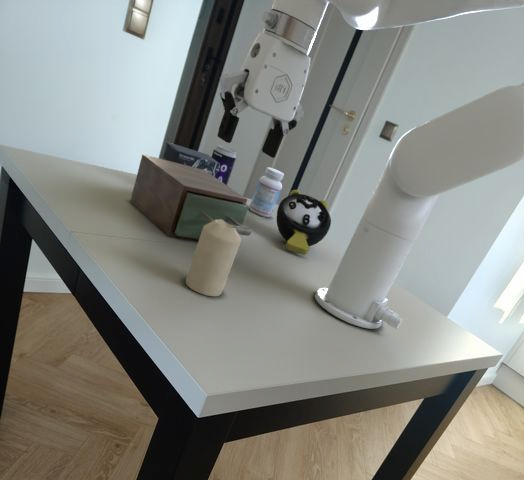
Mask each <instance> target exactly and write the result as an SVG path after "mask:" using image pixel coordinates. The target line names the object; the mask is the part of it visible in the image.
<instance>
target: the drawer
mask: <svg viewBox="0 0 524 480" xmlns="http://www.w3.org/2000/svg"><path fill="white" fill-rule="evenodd" d="M249 207H250V206H248V205H247V204H246V205H244V204H239V203H238V202H236V201H232V200H228V199H223V198H218V197H213V196H209V195H204V194H199V193H195V192H190V191H186V195H185V198H184V201H183V204H182V208H181V211H180V214H179V217H178V221H177V224H176V227H175V229H176V230H175V234H177V235H178V236H183V237H190V238H197V239H199V238H200V235H201V232H202V229H203V227H204V225H206V224H208V223H210V222H212V221H214V220H219V219H222V220H224V221H225V222H226V223H228V224H229V225H231V226H232V228H235V229H236V231H237V233H238V234H239V236H246V237H249V236H250V235H251V234H252V228H251V227H247V226H243V224H244V221H245V219H246V215H247V213H248V211H249V209H250V208H249Z"/></svg>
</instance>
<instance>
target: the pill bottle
mask: <svg viewBox="0 0 524 480" xmlns="http://www.w3.org/2000/svg"><path fill="white" fill-rule="evenodd" d="M264 173H265V174H264V175H262V176H260V177H259V180H258V182H257V185H256V188H255V191H254V193H253V196H252V199H251V202H250V203H249V206H248V207H249V208H248V209H249V211H251V212H252V213H254V214H256V215H258V216H261V217H264V218H271V217H272V215H273V213H274V210H275V207H276V205H277V203H278V199H279V197H280V195H281V191H282V189H283V183H282V182H281V181H282V180H283V179H284V176H285V173H284V172H282V171H280V170H278V169H275V168H273V167H270V166H267V167H266V169H265V172H264Z"/></svg>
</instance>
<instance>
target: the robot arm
mask: <svg viewBox="0 0 524 480" xmlns="http://www.w3.org/2000/svg"><path fill="white" fill-rule="evenodd" d="M329 4H332V5H333V6H335V7H336V8H337V10H339V12H340V14H341V16H342V17H343V20H344V21H345V22H346V23H347V24H348V25H349V26H350V27H352V28H354V29H357V30H362V31H370V30H381V29H391V28H400V27H409V26H414V25H418V24H424V23H428V22H433V21H438V20H443V19H444V20H445V19H449V18H453V17H456V16H461V15H465V14H473V13H479V12H480V13H482V12H490V11H496V10H497V11H499V10H506V9H507V10H508V9H516V8H524V0H273V2H272V5H271V7H270V11H264V13H262V17H261V20H262V22H263V23H264V27H263V30H262V31H259V32H258V34H257V36H256V38H255V39H254V41H253V43H252V45H251V47H250V49H249V51H248V53H247V55H246V57H245V58H244V61H243V64H242V66H241V69H240V71H236V72H230V73H226V74H222V75H221V76H220V77H219V81H220V82H219V83H220V94H219V96H220V99H221V102H222V110H223V111H224V112H223V115H222V118H221V121H220V124H219V127H218V132H217V138H219V139H221V140H222V141H223V142H225V143H228V144H230V143H231V142H233V138H234V135H235V133H236V130H237V127H238V124H239V121H240V117H239V116H238V115H239V114H240V113H241V112H243V111H244V110H246V109H247V108H248V107H249V108H251V109H252V110H254V111H256V112H259V113H260V114H264V115H266V116H268V117H271V119H272V124H273V125H272V126H273V128H270V129H269V130H268V133H267V135H266V138H265V140H264V143H263V145H262V147H261V148H262V149H261V152H262V153H263V154H265V155H267V156H268V157H270V158H273V159H275V158H276V156H277V154H278V151H279V148H280V146H281V144H282V141H283V139H284V136H288V135H289V133H290V131H291V130H293V129H295V128H296V127H297V125H298V123H299V122H300V121H301V120H302V119H303V118H304V117H305V114H306V113H305V110H304V108H303V106H302V104H301V103H300V101H301V98H302V95H303V92H304V89H305V86H306V82H307V79H308V75H309V71H310V66H311V60H312V58H311V57H310V56H309V54H310V51H311V49H312V46H313V43H314V41H315V38H316V36H317V33H318V30H319V28H320V26H321V24H322V21H323V18H324V15H325V13H326V10H327V8H328V5H329ZM233 87H234V90H233ZM232 91H233V94H232ZM522 160H524V82H522V83H520V84H518V85H508V86H504V87H500V88H499V89H495V90H494V91H491V92H489V93H487V94H484V95H483V96H481V97H479V98H476V99H474V100H472V101H470V102H467V103H466V104H463V105H461V106H459V107H457V108H454V109H452V110H451V111H447V112H445V113H444V114H442V115H439V116H437V117H435V118H433V119H431V120H429V121H425V122H424V123H422V124H420V125H417V126H415V127H413V128H411V129H410V130H408V131H407V132H405V133H404V134H403V135H402V136H401V137H400V138H399V139H398V140H397V141H396V144H395V145H394V147H393V148H392V151H391V153H390V155H389V158H388V160H387V162H386V165H385V166H384V170H383V172H382V174H381V176H380V178H379V180H378V183H377V184H376V187H375V189H374V190H373V193H372V195H371V197H370V199H369V201H368V204H367V205H366V208H365V210H364V212H363V214H362V216H361V218H360V220H359V222H358V224H357V226H356V228H355V231H354V233H353V235H352V237H351V239H350V241H349V243H348V245H347V247H346V249H345V252H344V254H343V256H342V258H341V260H340V262H339V264H338V267H337V269H336V271H335V273H334V275H333V277H332V279H331V281H330V284H329V285H328V287H321V288H318V289H317V290H316V292H315V295H314V297H315V300H316V302H317V303H318V304H319V306H320V307H321V308H323V309H324V310H325V311H327V312H328V313H329V314H331V315H332V316H334V317H336V318H338V319H339V320H341V321H343V322H346V323H348V324H351V325H353V326H357V327H359V328H364V329H369V330H375V329H379V328H381V326H382V324H383V322H384V323H386V324H387V325H388V326H389V327H392V328H394V329H395V330H397V329H399V327H400V326H401V324H402V322H403V318H401V317H399V316H400V314H399V313H397V312H395V311H392V310H391V309H389V307H388V306H387V304H388V302H389V299H388V298H387V295H388V294H389V292H390V290H391V288H392V286H393V284H394V282H395V281H396V279H397V276H398V275H399V273H400V271H401V269H402V267H403V265H404V263H405V262H406V259H407V258H408V256H409V254H410V252H411V250H412V248H413V246H414V245H415V243H416V242H417V240H418V238H419V236H420V235H421V232H422V230H423V228H424V226H425V225H426V222H427V220H428V219H429V217H430V214H431V212H432V211H433V209H434V207H435V205H436V202H437V200H438V198H439V196H440V195H441V194H444V193H446V192H449V191H451V190H453V189H456V188H458V187H461V186H464V185H466V184H469V183H471V182H474V181H476V180H478V179H481V178H484V177H486V176H489V175H491V174H493V173H496V172H498V171H500V170H503V169H506V168H508V167H511V166H513V165H514V164H515V165H516V164H517V163H518V162H521V161H522Z"/></svg>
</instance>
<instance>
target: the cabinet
mask: <svg viewBox="0 0 524 480" xmlns="http://www.w3.org/2000/svg"><path fill="white" fill-rule="evenodd" d="M186 191H190V192H195V193H199V194H204V195H209V196H213V197H218V198H223V199H228V200H232V201H236V202H238V203H239V204H244V205H246V206H247V201H248V198H247V197H245V196H243V195H242V194H240V193H239V192H237V191H236V190H234V189H232V188H231V187H230V186H228V184H227V185H225V184H224V183H223V182H221V181H220V180H218V179H217V178H215V177H214V176H212V175H211V174H209V173H208V172H206V171H205V170H202V169H198V168H194V167H191V166H187V165H183V164H179V163H175V162H171V161H167V160H163V159H162V158H158V157H155V156H151V155H148V154H144V153H143V154H141V159H140V163H139V166H138V169H137V174H136V177H135V181H134V185H133V189H132V193H131V195H130V197H131V198H130V203H131V204H133V206H134V207H136V208H137V209H138V210H139V211H141V212H142V213H143V214H144V215H145V216H146V217H147V218H148V219H149V220H150V221H152V223H154V224H155V225H156V226H157V227H158V228H159V229H161V231H163V232H164V233H165V234H166V235H167V236H168V237H173V238H181V239H189V240H195V241H199V239H197V238H190V237H183V236H178V235H177V234H175V230H176V229H175V227H176V224H177V221H178V217H179V214H180V211H181V208H182V204H183V201H184V198H185V195H186Z"/></svg>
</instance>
